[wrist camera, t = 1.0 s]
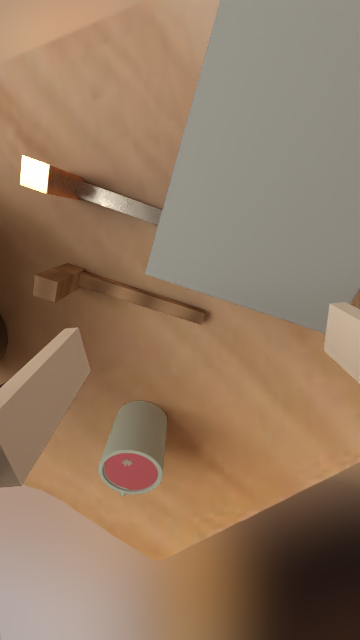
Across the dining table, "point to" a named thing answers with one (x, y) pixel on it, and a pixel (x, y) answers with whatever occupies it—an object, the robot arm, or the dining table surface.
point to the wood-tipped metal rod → (81, 190)
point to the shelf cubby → (270, 163)
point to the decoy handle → (107, 291)
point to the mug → (135, 449)
